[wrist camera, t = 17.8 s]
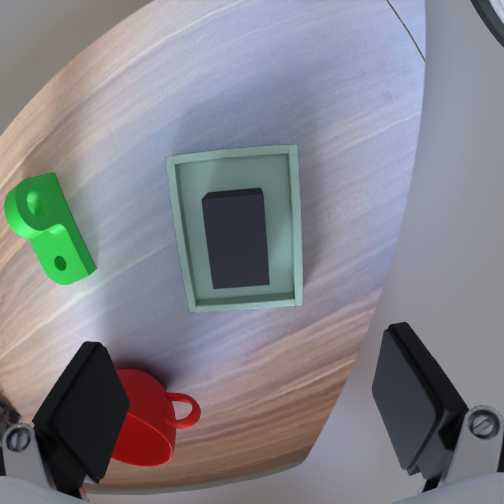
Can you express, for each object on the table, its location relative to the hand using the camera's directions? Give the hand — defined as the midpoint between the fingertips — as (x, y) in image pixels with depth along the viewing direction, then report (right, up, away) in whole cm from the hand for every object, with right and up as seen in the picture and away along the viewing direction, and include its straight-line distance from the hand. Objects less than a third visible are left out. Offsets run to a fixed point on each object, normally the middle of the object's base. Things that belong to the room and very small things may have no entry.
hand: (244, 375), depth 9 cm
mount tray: (-1, +6, +20) cm, 21 cm away
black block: (-1, +6, +20) cm, 21 cm away
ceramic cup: (-13, -14, +27) cm, 33 cm away
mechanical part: (-22, +6, +20) cm, 30 cm away
